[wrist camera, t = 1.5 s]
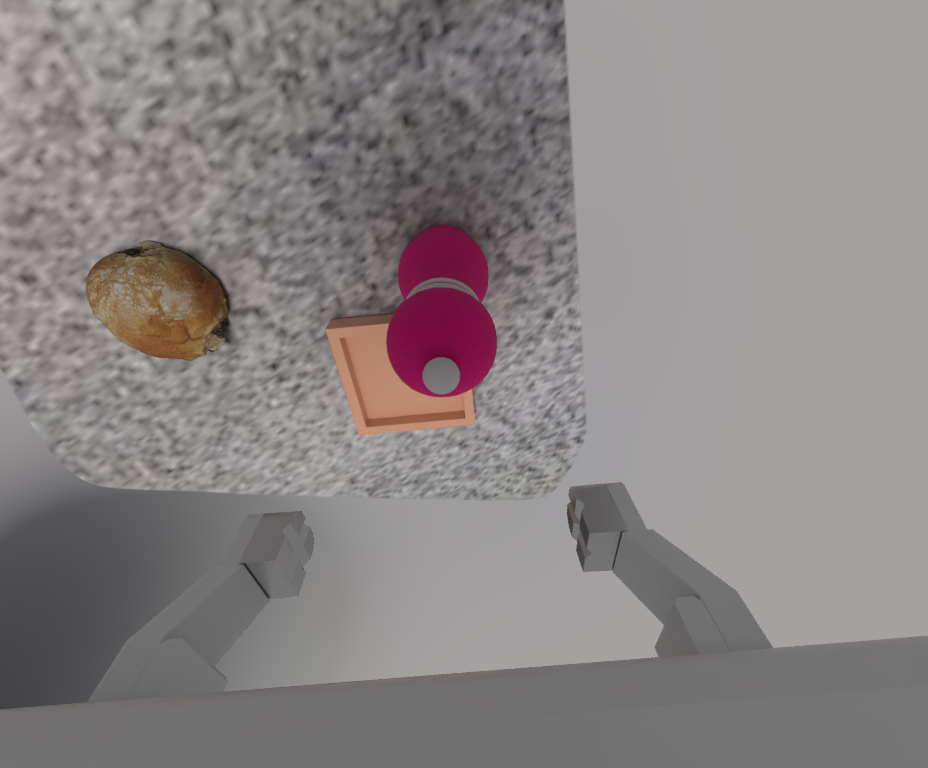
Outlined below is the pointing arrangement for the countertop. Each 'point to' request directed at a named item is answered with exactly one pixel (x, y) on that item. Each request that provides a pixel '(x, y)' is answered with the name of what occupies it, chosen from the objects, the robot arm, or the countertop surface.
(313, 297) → the countertop surface
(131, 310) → the bread roll
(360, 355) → the terracotta tray
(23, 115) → the countertop surface
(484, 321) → the pepper mill
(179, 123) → the countertop surface
